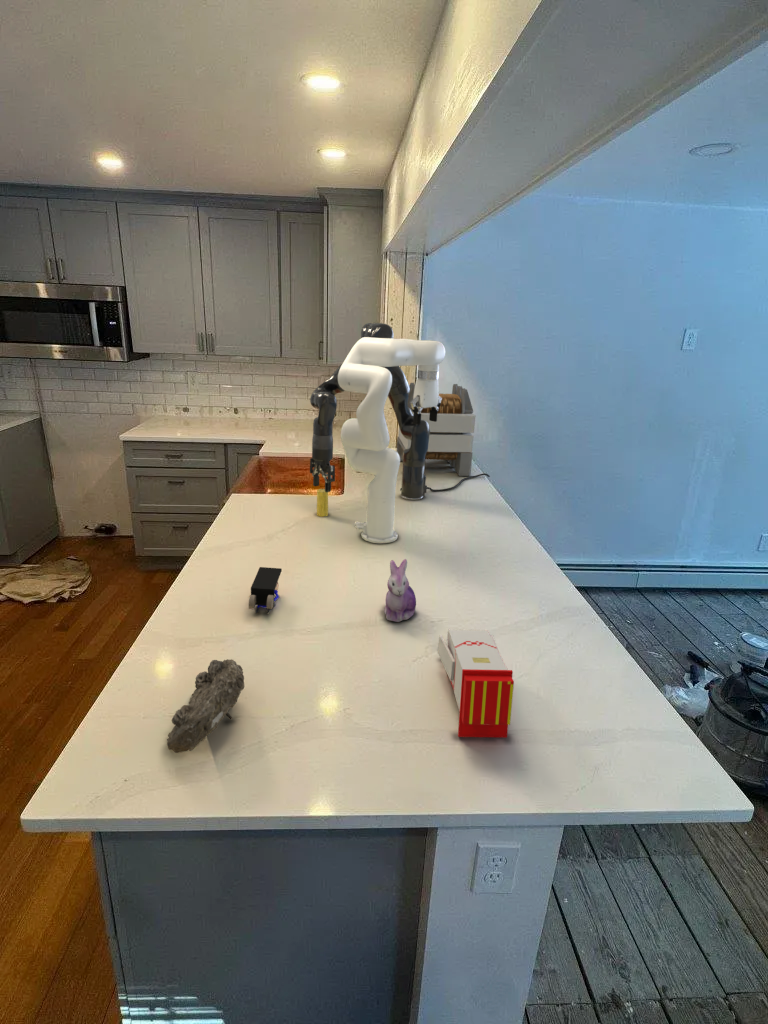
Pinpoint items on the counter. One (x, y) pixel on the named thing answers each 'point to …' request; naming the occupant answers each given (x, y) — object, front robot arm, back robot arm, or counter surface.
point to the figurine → (399, 594)
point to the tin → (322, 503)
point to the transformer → (448, 430)
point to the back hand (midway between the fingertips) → (321, 488)
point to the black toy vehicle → (264, 588)
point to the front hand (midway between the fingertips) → (424, 422)
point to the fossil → (206, 705)
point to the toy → (478, 682)
